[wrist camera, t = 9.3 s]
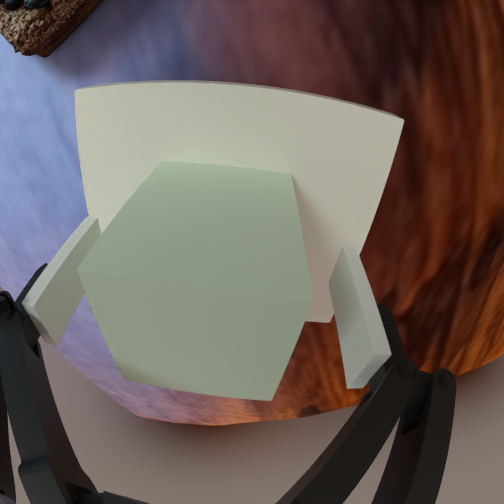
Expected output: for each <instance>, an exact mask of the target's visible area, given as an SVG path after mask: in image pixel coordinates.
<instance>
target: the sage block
mask: <svg viewBox="0 0 504 504" xmlns="http://www.w3.org/2000/svg"><path fill="white" fill-rule="evenodd" d="M77 271H78V274H79V277H80V280H81V282H82V285H83V288H84V291H85V293H86V296H87V299H88V301H89V304H90V306H91V309H92V311H93V314H94V316H95V319H96V321H97V323H98V326H99V328H100V330H101V333H102V335H103V337H104V339H105V341H106V344H107V346H108V348H109V350H110V352H111V354H112V356H113V358H114V360H115V362H116V364H117V366H118V368H119V370H120V372H121V374H122V376H123V378H124V379H126V380H130V381H134V382H139V383H143V384H148V385H153V386H158V387H163V388H168V389H174V390H179V391H185V392H192V393H198V394H205V395H213V396H221V397H230V398H240V399H252V400H266V401H272V399H273V396H274V394H275V392H276V390H277V388H278V385H279V383H280V381H281V378H282V376H283V374H284V371H285V369H286V367H287V364H288V362H289V360H290V357H291V355H292V352H293V350H294V348H295V345H296V343H297V340H298V338H299V335H300V333H301V330H302V328H303V325H304V322H305V320H306V317H307V315H308V312H309V309H310V307H311V304H312V301H313V296H312V289H311V283H310V276H309V270H308V264H307V258H306V252H305V246H304V240H303V234H302V229H301V223H300V218H299V212H298V207H297V202H296V196H295V191H294V186H293V181H292V176H291V174H290V173H283V172H276V171H269V170H261V169H253V168H244V167H235V166H225V165H214V164H202V163H189V162H174V161H161V162H160V163H159V164H158V166H157V167H156V168H155V169H154V170H153V171H152V172H151V173H150V175H149V176H148V177H147V178H146V179H145V180H144V181H143V183H142V184H141V185H140V186H139V187H138V188H137V190H136V191H135V192H134V193H133V194H132V196H131V197H130V198H129V199H128V201H127V202H126V203H125V204H124V205H123V207H122V208H121V209H120V210H119V212H118V213H117V214H116V216H115V217H114V218H113V219H112V221H111V222H110V223H109V225H108V226H107V227H106V229H105V230H104V231H103V233H102V234H101V235H100V237H99V238H98V239H97V241H96V242H95V244H94V245H93V246H92V248H91V249H90V251H89V252H88V254H87V255H86V256H85V258H84V259H83V261H82V262H81V264H80V265H79V267H78V268H77Z"/></svg>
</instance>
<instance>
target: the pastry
mask: <svg viewBox="0 0 504 504" xmlns="http://www.w3.org/2000/svg"><path fill="white" fill-rule="evenodd" d="M101 1H103V0H0V33H1V34H2V35H3V37H4V38H5V39H7V41H8V42H9V43H10V44H11V45H12V46H14V47H13V48H14V49H15V52H19V51H20V52H21V53H22V55H25V56H31V55H35V54H37V55H39V56H41V57H47V56H48V55H50V54H51V53H52V52H53V51H54V50H55V49H56V48H58V47H59V46H60V45H61V44H62V43H63V42H64V41H65V39H66V38H67V37H68V36H70V35H71V34H72V33H73V32H74V31H75V30H76V29H77V27H78V26H79V25H80V24H81V23H82V22H84V21H85V19H86V18H87V17H88V16H89V15H90V14H91V13H92V12H93V11H94V10H95V8H96V7H97V6H98V5H99V4H100V3H101Z"/></svg>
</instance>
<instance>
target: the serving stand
mask: <svg viewBox="0 0 504 504" xmlns="http://www.w3.org/2000/svg"><path fill="white" fill-rule="evenodd" d="M75 112H76V127H77V139H78V149H79V158H80V166H81V173H82V180H83V186H84V192H85V198H86V204H87V209H88V214H89V217H96V218H98V221H99V226H100V231H101V234H102V233H103V231H104V230H105V229H106V227H107V226H108V225H109V223H110V222H111V221H112V219H113V218H114V217H115V216H116V214H117V213H118V212H119V210H120V209H121V208H122V207H123V205H124V204H125V203H126V202H127V201H128V199H129V198H130V197H131V196H132V194H133V193H134V192H135V191H136V190H137V188H138V187H139V186H140V185H141V184H142V183H143V181H144V180H145V179H146V178H147V177H148V176H149V175H150V173H151V172H152V171H153V170H154V169H155V168H156V167H157V166H158V164H159V163H160V162H161V161H174V162H189V163H202V164H214V165H225V166H235V167H244V168H253V169H261V170H269V171H276V172H283V173H290V174H291V176H292V181H293V186H294V191H295V196H296V202H297V207H298V212H299V218H300V223H301V229H302V234H303V240H304V246H305V252H306V258H307V264H308V270H309V276H310V283H311V289H312V296H313V301H312V304H311V307H310V309H309V312H308V315H307V317H306V320H305V321H310V322H325V323H330V321H331V319H332V317H333V314H334V310H333V305H332V300H331V295H330V290H329V285H328V283H329V281H330V278H331V275H332V273H333V270H334V267H335V265H336V262H337V259H338V256H339V254H340V251H341V248H342V245H344V246H351V247H356V249H357V252H358V254H359V255H360V253H361V250H362V248H363V245H364V242H365V240H366V237H367V235H368V232H369V229H370V227H371V224H372V221H373V219H374V216H375V213H376V210H377V208H378V205H379V202H380V199H381V196H382V193H383V190H384V187H385V184H386V181H387V178H388V175H389V172H390V168H391V165H392V162H393V159H394V155H395V152H396V148H397V145H398V141H399V138H400V134H401V130H402V127H403V123H404V119H402V118H400V117H398V116H396V115H394V114H392V113H388V112H385V111H382V110H379V109H375V108H372V107H368V106H365V105H361V104H357V103H353V102H349V101H345V100H341V99H337V98H332V97H328V96H323V95H318V94H313V93H308V92H302V91H297V90H291V89H284V88H278V87H270V86H263V85H254V84H244V83H233V82H219V81H198V80H154V81H133V82H119V83H109V84H99V85H91V86H86V87H83V88H79V89H76V90H75Z"/></svg>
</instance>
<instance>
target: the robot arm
mask: <svg viewBox="0 0 504 504" xmlns="http://www.w3.org/2000/svg"><path fill="white" fill-rule="evenodd" d="M100 235H101V231H100V226H99V221H98V218H96V217H86V218H85V219H84V220H83V222H82V223H81V224H80V225H79V226H78V227H77V229H76V230H75V231H74V232H73V233H72V235H71V236H70V237H69V238H68V239H67V241H66V242H65V243H64V244H63V246H62V247H61V248H60V249H59V251H58V252H57V253H56V255H55V256H54V257H53V259H52V260H51V261H50V263H49V264H46V263H45V264H44V265H42V266H41V267H40V268H39V269H37V271H36V272H35V274H34V275H33V276H32V278H31V279H30V280H29V282H28V284H27V285H26V286H25V288H24V289H23V291H22V292H21V293H20V295H19V296H18V298H17V299H16V301H15V302H14V300H13V298H12V297H11V295H10V293H9V292H8V291H1V292H0V504H16V493H15V483H14V476H13V470H12V463H11V455H10V446H9V434H8V416H7V410H8V415H9V418H10V423H11V427H12V431H13V435H14V438H15V442H16V445H17V448H18V452H19V455H20V458H21V464H20V466H19V467H18V473H19V476H20V479H21V481H22V484H23V487H24V489H25V492H26V494H27V496H28V499H29V501H30V503H31V504H148V503H146V502H142V501H139V500H135V499H132V498H128V497H124V496H120V495H116V494H113V493H109V492H106V491H104V492H103V493H98V491H97V490H96V488H95V486H94V484H93V483H92V481H91V480H90V478H89V477H88V476H87V475H86V473H85V472H84V471H83V470H82V468H81V466H80V464H79V462H78V460H77V458H76V456H75V453H74V451H73V449H72V446H71V444H70V442H69V439H68V437H67V434H66V432H65V429H64V426H63V424H62V421H61V418H60V415H59V413H58V410H57V407H56V404H55V400H54V397H53V394H52V391H51V387H50V384H49V380H48V377H47V373H46V369H45V365H44V361H43V356H42V352H41V347H40V344H39V341H38V338H39V336H40V335H41V337H42V338H43V340H44V341H45V342H46V343H48V344H51V345H54V346H57V345H58V343H59V341H60V339H61V337H62V335H63V333H64V331H65V329H66V327H67V325H68V323H69V321H70V319H71V317H72V315H73V314H74V312H75V310H76V308H77V306H78V304H79V303H80V301H81V299H82V297H83V295H84V294H85V291H84V288H83V285H82V282H81V280H80V277H79V274H78V271H77V268H78V267H79V265H80V264H81V262H82V261H83V259H84V258H85V256H86V255H87V254H88V252H89V251H90V249H91V248H92V246H93V245H94V244H95V242H96V241H97V239H98V238H99V237H100ZM328 285H329V290H330V295H331V300H332V305H333V310H334V315H335V320H336V325H337V331H338V336H339V342H340V347H341V353H342V359H343V365H344V371H345V378H346V385H347V389H350V388H363V387H364V386H365V385H366V384H367V383H368V382H369V387H370V390H369V391H368V392H367V393H366V394H365V395H364V396H363V397H362V398H361V400H362V401H361V402H360V404H359V405H358V406H357V408H356V410H355V411H354V412H353V414H352V415H351V416H350V418H349V419H348V421H347V422H346V423H345V425H344V426H343V427H342V429H341V430H340V431H339V433H338V434H337V435H336V437H335V438H334V439H333V441H332V442H331V443H330V444H329V446H328V447H327V448H326V449H325V450H324V452H323V453H322V454H321V455H320V456H319V458H318V459H317V460H316V461H315V462H314V464H313V465H312V466H311V467H310V468H309V469H308V470H307V471H306V473H305V474H304V475H303V476H302V477H301V478H300V479H299V480H298V481H297V482H296V483H295V485H294V486H293V487H292V488H291V489H290V490H289V491H288V492H287V493H286V494H285V495H284V496H283V497H282V498H281V499H280V500H279V501H278V502H277V503H276V504H343V502H344V501H345V500H346V499H347V497H348V496H349V495H350V493H351V492H352V491H353V490H354V488H355V487H356V486H357V484H358V483H359V481H360V480H361V479H362V477H363V476H364V474H365V473H366V471H367V470H368V469H369V467H370V465H371V464H372V463H373V461H374V459H375V458H376V456H377V455H378V453H379V452H380V450H381V448H382V447H383V445H384V443H385V442H386V440H387V438H388V437H389V435H390V433H391V431H392V430H393V428H394V426H395V424H396V423H397V421H398V419H399V417H400V420H399V424H398V428H397V432H396V435H395V439H394V442H393V445H392V449H391V452H390V455H389V458H388V461H387V464H386V467H385V470H384V473H383V475H382V478H381V481H380V484H379V486H378V489H377V491H376V494H375V496H374V499H373V501H372V503H371V504H435V502H436V499H437V496H438V492H439V489H440V485H441V481H442V477H443V473H444V469H445V464H446V459H447V455H448V449H449V444H450V437H451V431H452V424H453V416H454V407H455V396H456V380H455V377H454V375H453V374H452V373H451V372H450V371H448V370H447V369H438V370H437V371H436V372H435V373H434V374H431V373H427V372H424V371H420V370H418V368H417V366H416V364H415V363H414V362H413V361H411V360H409V359H407V357H406V354H405V351H404V347H403V344H402V341H401V338H400V335H399V332H398V329H397V326H396V324H395V320H394V317H393V314H392V313H391V311H390V310H389V309H388V307H387V306H386V305H376V302H375V299H374V296H373V293H372V290H371V287H370V284H369V281H368V279H367V276H366V273H365V270H364V268H363V265H362V262H361V260H360V257H359V254H358V252H357V249H356V247H351V246H344V245H342V248H341V251H340V254H339V256H338V259H337V262H336V265H335V267H334V270H333V273H332V275H331V278H330V281H329V283H328ZM400 415H401V416H400Z"/></svg>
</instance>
